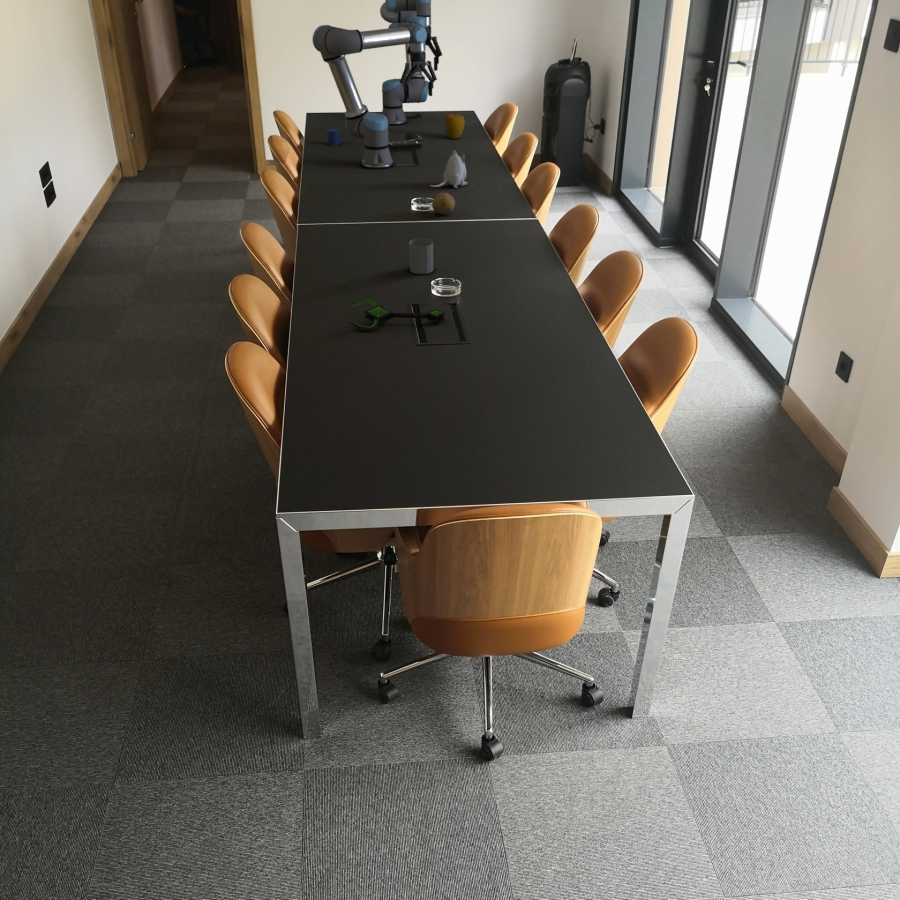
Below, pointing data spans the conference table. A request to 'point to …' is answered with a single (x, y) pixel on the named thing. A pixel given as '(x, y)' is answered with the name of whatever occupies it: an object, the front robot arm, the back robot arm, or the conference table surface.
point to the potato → (443, 203)
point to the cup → (421, 256)
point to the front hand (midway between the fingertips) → (418, 97)
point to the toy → (454, 171)
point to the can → (333, 137)
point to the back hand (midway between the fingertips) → (424, 69)
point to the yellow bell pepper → (454, 125)
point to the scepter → (391, 315)
